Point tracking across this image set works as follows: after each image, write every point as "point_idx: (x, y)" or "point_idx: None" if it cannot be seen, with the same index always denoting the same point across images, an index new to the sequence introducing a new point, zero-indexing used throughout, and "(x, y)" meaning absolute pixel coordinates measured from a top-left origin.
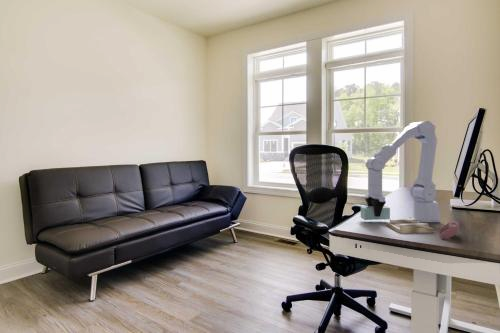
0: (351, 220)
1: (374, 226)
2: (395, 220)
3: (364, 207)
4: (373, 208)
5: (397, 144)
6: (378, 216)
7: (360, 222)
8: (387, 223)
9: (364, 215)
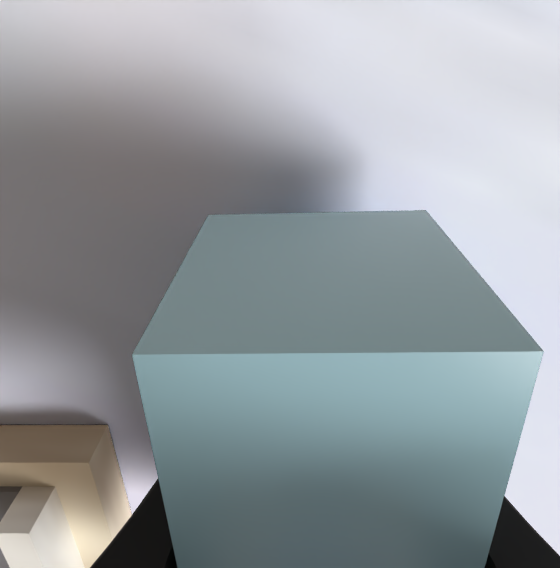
0: (503, 10)
1: (48, 276)
2: (15, 564)
3: (333, 408)
4: (178, 561)
5: None
6: None
7: (310, 148)
8: (54, 455)
9: (205, 248)
